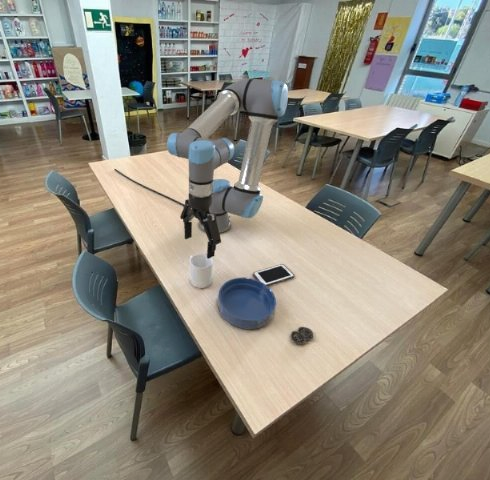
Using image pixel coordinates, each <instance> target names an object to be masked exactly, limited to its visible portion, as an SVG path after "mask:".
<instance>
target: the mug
mask: <svg viewBox="0 0 490 480" xmlns="http://www.w3.org/2000/svg"><path fill="white" fill-rule="evenodd" d="M188 263H189V269H190V270H189V279H190V283H191V285H192V286H194V287H196V288H199V289H204V288H207V287H209V286H210V285H211V283H212V280H213V267H214V266H213V265H214V260H213V257H211V258H209V259H208V258H207V253H197V254H192V255H190V256H189V260H188Z"/></svg>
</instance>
